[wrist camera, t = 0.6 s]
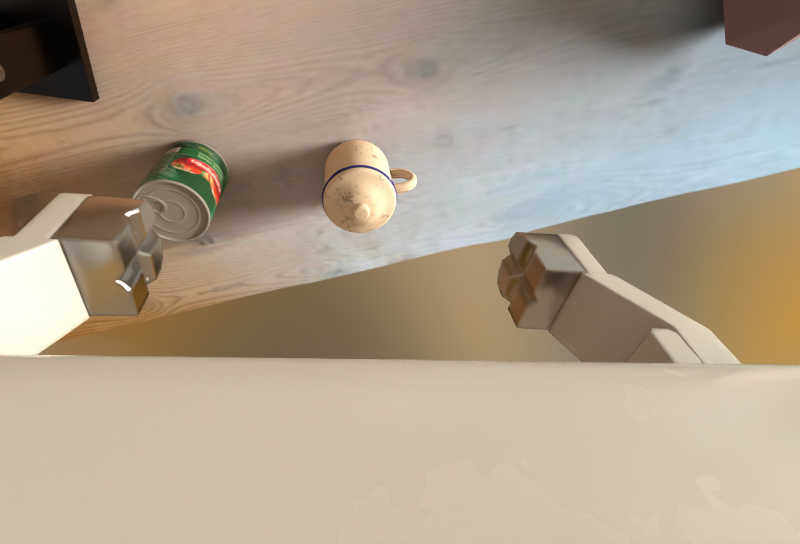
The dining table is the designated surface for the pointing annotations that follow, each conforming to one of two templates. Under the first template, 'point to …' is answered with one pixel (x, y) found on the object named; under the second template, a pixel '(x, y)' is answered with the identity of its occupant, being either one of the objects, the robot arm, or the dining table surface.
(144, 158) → the dining table surface
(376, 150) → the teacup with lid
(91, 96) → the lever stand
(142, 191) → the canned tomato
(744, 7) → the flask
